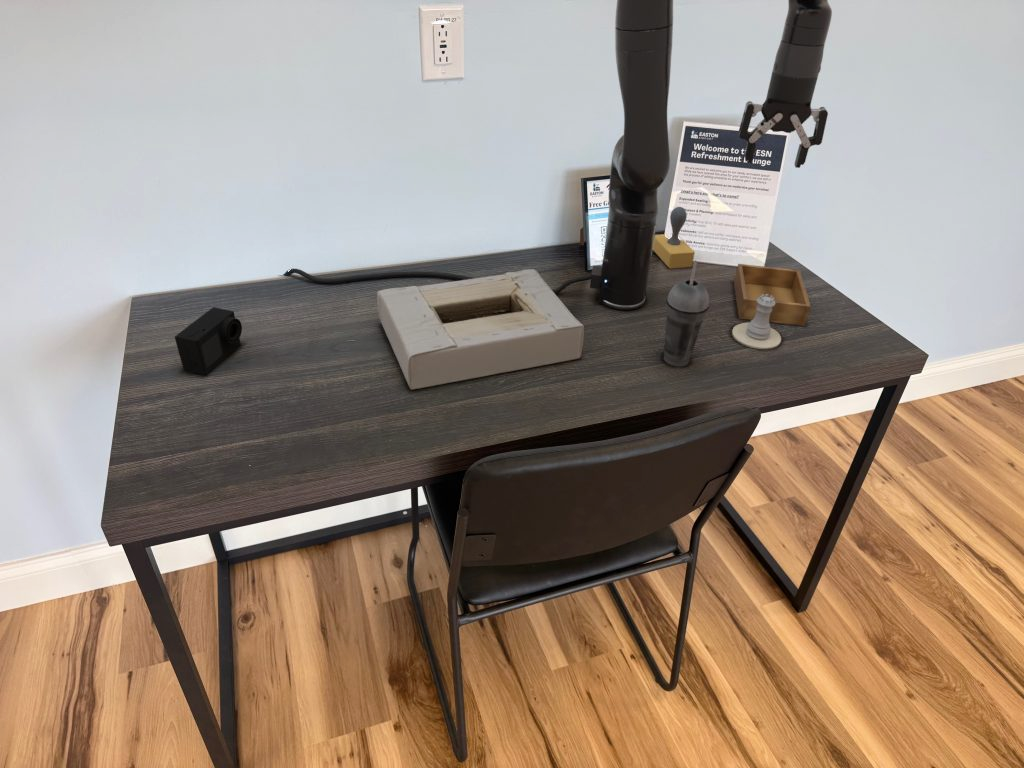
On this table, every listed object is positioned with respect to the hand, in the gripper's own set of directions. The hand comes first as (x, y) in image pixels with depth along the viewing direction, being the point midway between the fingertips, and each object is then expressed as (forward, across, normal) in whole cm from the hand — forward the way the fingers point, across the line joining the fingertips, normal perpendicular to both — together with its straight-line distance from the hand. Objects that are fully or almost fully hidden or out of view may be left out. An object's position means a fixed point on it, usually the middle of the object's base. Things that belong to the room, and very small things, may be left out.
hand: (772, 164), depth 134 cm
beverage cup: (+28, +13, +26) cm, 41 cm away
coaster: (+28, -2, +14) cm, 32 cm away
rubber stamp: (+28, +14, -16) cm, 35 cm away
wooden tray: (+28, -6, 0) cm, 29 cm away
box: (+28, +49, +28) cm, 63 cm away
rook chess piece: (+28, -2, +14) cm, 31 cm away
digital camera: (+28, +92, +44) cm, 106 cm away
